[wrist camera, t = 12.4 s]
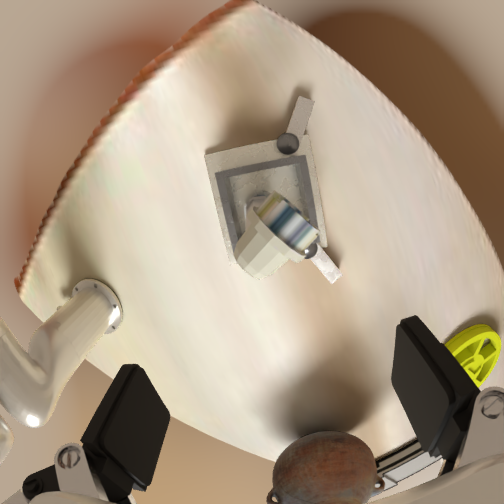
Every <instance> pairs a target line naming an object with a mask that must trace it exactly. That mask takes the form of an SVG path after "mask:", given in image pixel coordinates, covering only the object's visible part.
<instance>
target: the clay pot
mask: <svg viewBox="0 0 504 504" xmlns="http://www.w3.org/2000/svg"><path fill="white" fill-rule="evenodd" d="M375 484H380V487H378V488H376V487H375ZM384 488H385V482H384V480H383V479H382V478H380V477H379V476H378V475H377V467H376V463H375V459H374V456H373V453H372V451H371V450H370V448H369V447H368V446H367V445H366V443H364V442H363V441H362V440H361V439H359V438H357V437H356V436H353V435H350V434H347V433H344V432H337V431H321V432H316V433H313V434H309V435H306V436H304V437H302V438H300V439H298V440H296V441H295V442H293V443H292V444H291V445H289V446H288V447H287V448H286V449H285V450H284V451H283V452H282V453H281V455H280V456H279V458H278V459H277V461H276V463H275V466H274V470H273V489H272V490H271V491H270V492H269V493H268V496H267V504H365V503H367V502H368V500H369V499H370V498H371V497H372V496H375V495H378V494H380V493H382V492H383V490H384ZM272 497H275V498H276V499H277V501H278V502H274V501H273V500H272Z"/></svg>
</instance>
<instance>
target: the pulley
mask: <svg viewBox="0 0 504 504" xmlns="http://www.w3.org/2000/svg"><path fill="white" fill-rule="evenodd" d="M485 338H489V340H490V343H489V344H488V345H486V346H485V347H484V348H482V349H481V347H482V345H483V342H484V340H485ZM445 346H446V347H447V348H448V350H449V351H450V352H451V353H452V355H453V356H454V357H455V358H456V360H457V361H458V362H459V363H460V365H461V366H462V367H463V368H464V370H465V371H466V372H467V374H468V375H469V376H470V378H471V379H472V380H473V382H474V383H475V384H476V386H477V387H478V388H479V387H480V386H481V384H482V383H483V382H484V381H485V380H486V378H487V377H488V376H489V374H490V373H491V371H492V370H493V368H494V366H495V364H496V362H497V360H498V357H499V354H500V350H501V339H500V337H499V335H498V334H497V333H496V332H495V331H494V330H493V329H492V328H491V327H490V326H488V325H486V324H477V325H474V326H471V327H469V328H466V329H465V330H463V331H461V332H460V333H458V334H457V335H455V336H454V337H453V338H452V339H450V340H449V341H448V342H447V343H446V344H445ZM480 349H481V350H480Z"/></svg>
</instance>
